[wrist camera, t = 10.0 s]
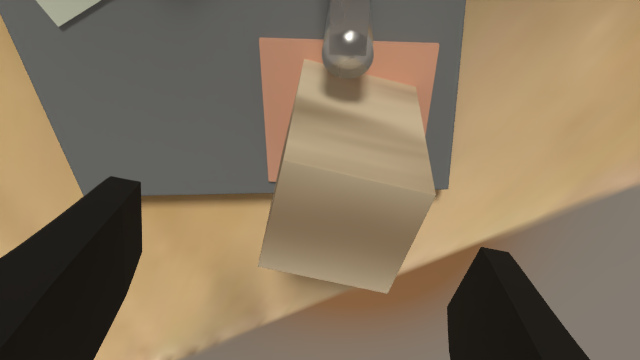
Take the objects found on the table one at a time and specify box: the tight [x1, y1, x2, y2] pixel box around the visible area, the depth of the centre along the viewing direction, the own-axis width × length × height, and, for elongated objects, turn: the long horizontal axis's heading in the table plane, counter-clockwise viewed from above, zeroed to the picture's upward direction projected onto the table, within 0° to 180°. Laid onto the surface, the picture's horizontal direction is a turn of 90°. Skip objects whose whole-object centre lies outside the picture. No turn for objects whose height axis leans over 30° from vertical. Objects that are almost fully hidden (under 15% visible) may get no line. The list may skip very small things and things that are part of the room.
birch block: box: [258, 59, 436, 293], centre depth 17 cm, size 4×4×6 cm
